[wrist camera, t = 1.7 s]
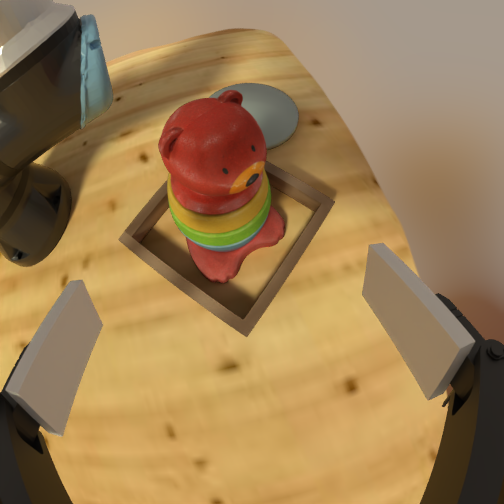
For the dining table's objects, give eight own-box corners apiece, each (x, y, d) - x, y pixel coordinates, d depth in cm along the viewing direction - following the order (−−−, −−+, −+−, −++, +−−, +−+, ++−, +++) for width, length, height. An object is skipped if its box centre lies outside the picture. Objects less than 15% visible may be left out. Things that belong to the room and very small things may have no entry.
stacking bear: (216, 292, 29) (173, 230, 12) (165, 224, 31) (98, 122, 14) (292, 232, 31) (333, 122, 14) (237, 173, 34) (229, 51, 17)
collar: (126, 246, 31) (118, 239, 28) (214, 144, 35) (212, 132, 33) (246, 336, 28) (246, 337, 25) (329, 211, 32) (335, 201, 30)
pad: (181, 126, 36) (180, 122, 35) (238, 78, 40) (238, 74, 39) (263, 169, 34) (264, 164, 33) (313, 110, 37) (314, 106, 36)
